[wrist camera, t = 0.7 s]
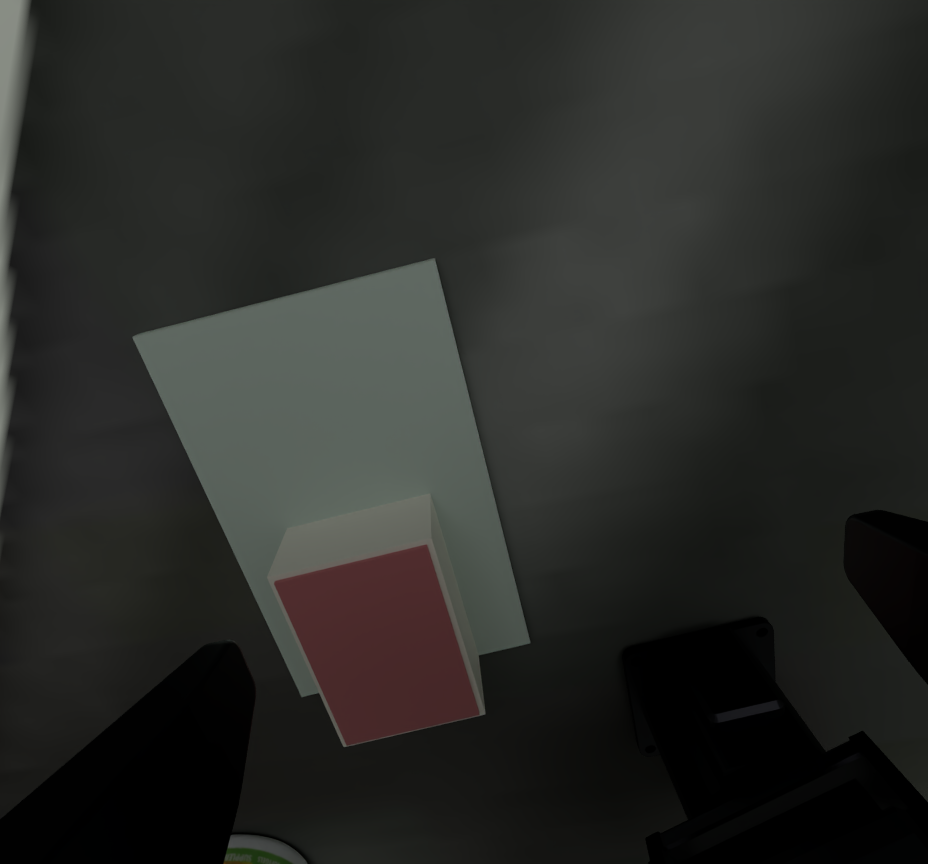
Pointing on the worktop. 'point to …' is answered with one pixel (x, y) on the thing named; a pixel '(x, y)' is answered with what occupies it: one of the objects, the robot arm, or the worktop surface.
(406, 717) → the card deck
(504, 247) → the worktop surface
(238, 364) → the mat
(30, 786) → the worktop surface
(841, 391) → the worktop surface
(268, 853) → the supplement bottle
